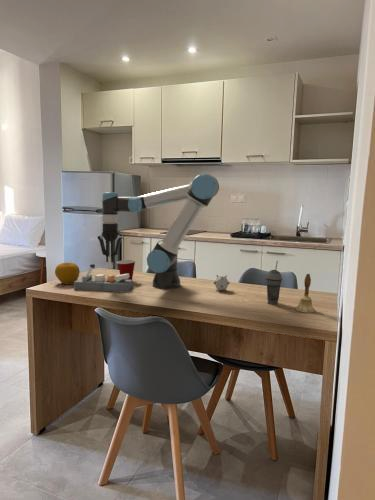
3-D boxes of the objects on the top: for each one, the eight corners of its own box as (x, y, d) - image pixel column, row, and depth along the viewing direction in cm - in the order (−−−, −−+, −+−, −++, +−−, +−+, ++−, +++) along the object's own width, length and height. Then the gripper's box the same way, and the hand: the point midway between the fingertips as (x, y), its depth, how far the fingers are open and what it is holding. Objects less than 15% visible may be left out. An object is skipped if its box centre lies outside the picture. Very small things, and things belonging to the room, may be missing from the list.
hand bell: (305, 306, 162) (307, 271, 160) (319, 311, 155) (322, 275, 153) (291, 308, 158) (293, 273, 156) (305, 314, 151) (307, 276, 149)
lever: (90, 279, 192) (97, 264, 190) (86, 281, 187) (93, 265, 185) (86, 277, 192) (92, 262, 190) (82, 279, 187) (89, 263, 185)
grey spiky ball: (217, 297, 188) (207, 280, 191) (230, 290, 192) (220, 274, 194) (222, 293, 180) (212, 275, 182) (236, 285, 184) (226, 268, 186)
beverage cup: (269, 300, 171) (271, 258, 168) (283, 303, 167) (285, 260, 164) (261, 303, 166) (263, 260, 163) (276, 306, 161) (278, 262, 158)
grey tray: (132, 287, 192) (132, 275, 191) (127, 291, 182) (127, 279, 181) (82, 284, 195) (81, 273, 195) (74, 289, 186) (73, 277, 185)
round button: (115, 282, 190) (115, 274, 189) (113, 284, 186) (113, 276, 185) (108, 282, 190) (108, 274, 189) (106, 284, 186) (106, 276, 186)
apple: (66, 287, 190) (65, 266, 188) (50, 284, 196) (49, 263, 195) (85, 282, 201) (84, 262, 199) (69, 279, 207) (68, 260, 206)
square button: (104, 282, 190) (104, 274, 190) (102, 283, 187) (102, 275, 186) (97, 281, 191) (97, 274, 190) (95, 283, 187) (95, 275, 186)
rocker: (129, 276, 188) (128, 273, 188) (127, 278, 184) (126, 274, 184) (118, 278, 189) (117, 275, 189) (115, 280, 185) (114, 276, 185)
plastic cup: (119, 279, 210) (118, 258, 209) (137, 279, 210) (137, 259, 208) (114, 283, 200) (114, 262, 198) (134, 284, 199) (133, 262, 197)
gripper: (124, 222, 186) (124, 267, 190) (100, 221, 188) (100, 266, 191) (120, 223, 179) (120, 270, 183) (95, 222, 181) (95, 269, 184)
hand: (110, 268), depth 187 cm, fingers closed
